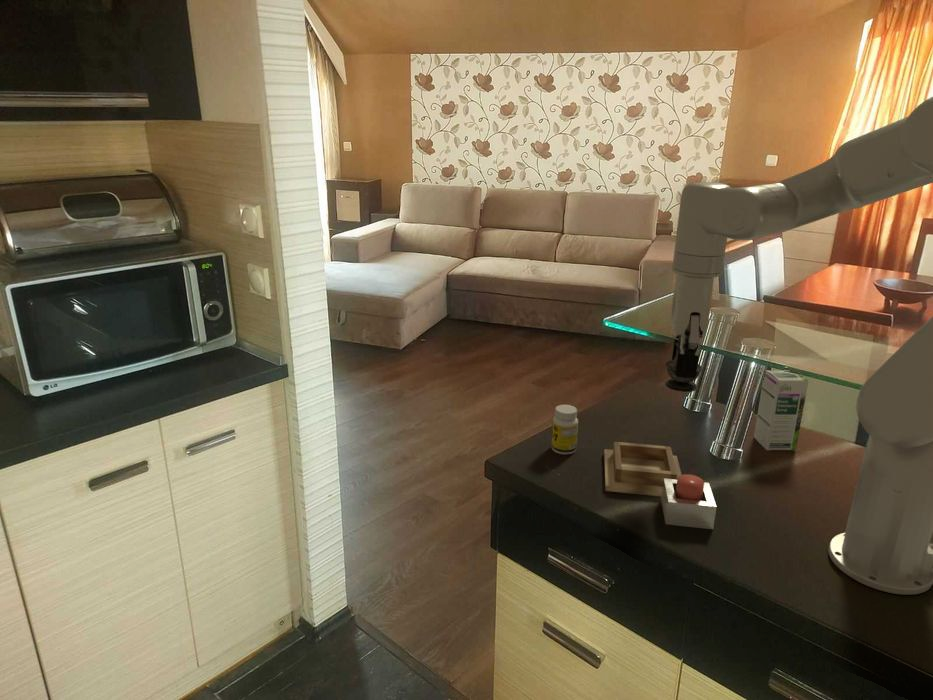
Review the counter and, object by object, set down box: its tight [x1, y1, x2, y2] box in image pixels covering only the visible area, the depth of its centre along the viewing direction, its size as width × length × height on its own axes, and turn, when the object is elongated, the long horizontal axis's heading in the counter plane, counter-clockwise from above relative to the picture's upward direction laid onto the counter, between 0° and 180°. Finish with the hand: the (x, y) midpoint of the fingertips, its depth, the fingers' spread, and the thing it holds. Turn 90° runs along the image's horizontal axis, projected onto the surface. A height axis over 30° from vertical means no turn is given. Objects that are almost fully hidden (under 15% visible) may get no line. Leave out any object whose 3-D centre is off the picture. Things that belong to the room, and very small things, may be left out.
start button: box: [675, 473, 705, 501], centre depth 101 cm, size 4×4×3 cm
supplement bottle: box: [550, 404, 579, 455], centre depth 121 cm, size 5×5×8 cm
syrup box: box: [753, 369, 809, 452], centre depth 123 cm, size 6×6×14 cm
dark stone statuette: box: [664, 321, 703, 393], centre depth 107 cm, size 6×6×12 cm
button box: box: [660, 478, 718, 530], centre depth 102 cm, size 7×7×4 cm
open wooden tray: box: [603, 441, 682, 497], centre depth 113 cm, size 13×13×4 cm
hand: (683, 368), depth 108 cm, fingers closed on dark stone statuette, 5 cm apart
